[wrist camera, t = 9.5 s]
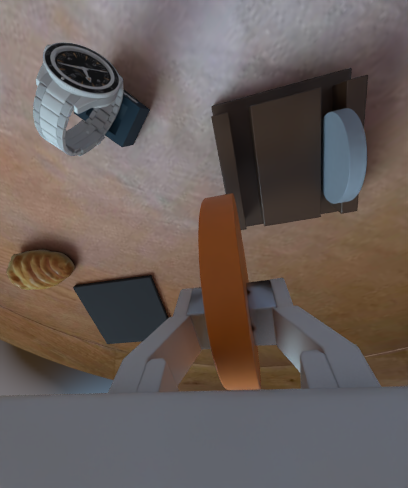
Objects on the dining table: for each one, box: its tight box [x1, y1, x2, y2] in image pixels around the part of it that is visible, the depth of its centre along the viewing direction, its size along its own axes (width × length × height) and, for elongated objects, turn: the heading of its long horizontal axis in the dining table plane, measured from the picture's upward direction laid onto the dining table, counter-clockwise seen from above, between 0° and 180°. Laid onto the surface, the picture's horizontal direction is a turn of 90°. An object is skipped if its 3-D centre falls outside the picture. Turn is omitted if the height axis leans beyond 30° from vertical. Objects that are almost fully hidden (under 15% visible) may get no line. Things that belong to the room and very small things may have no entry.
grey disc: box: [321, 108, 367, 204], centre depth 21 cm, size 8×1×8 cm, turn 13°
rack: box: [211, 68, 368, 230], centre depth 24 cm, size 14×13×4 cm
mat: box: [73, 275, 168, 344], centre depth 40 cm, size 14×14×1 cm
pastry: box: [7, 249, 75, 290], centre depth 35 cm, size 9×7×4 cm
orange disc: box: [198, 193, 261, 390], centre depth 10 cm, size 8×1×8 cm, turn 12°
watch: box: [33, 43, 150, 156], centre depth 20 cm, size 6×8×11 cm
